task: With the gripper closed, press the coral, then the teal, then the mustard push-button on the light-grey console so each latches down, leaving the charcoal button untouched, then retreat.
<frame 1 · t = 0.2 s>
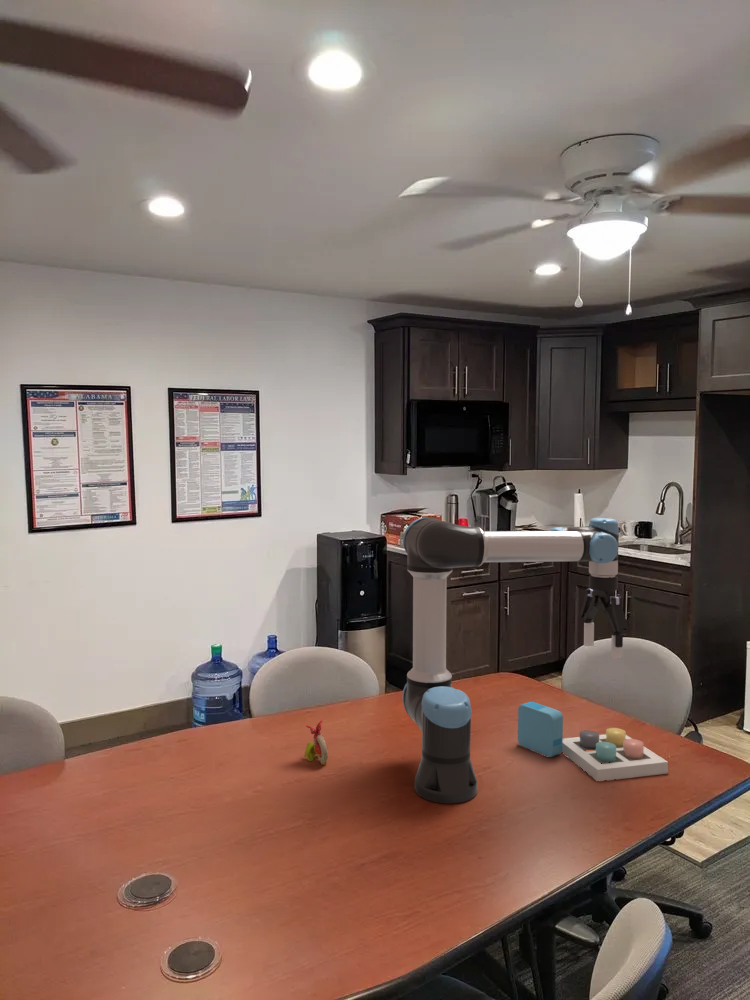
hand: (602, 652, 194), 27 cm above the table, fingers open, 13 cm apart
bird rattle: (319, 762, 187), on the table
mustard button: (615, 737, 193), point 5 cm above the table, slide at 0.0 cm
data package: (539, 750, 195), on the table
charcoal button: (589, 739, 191), point 5 cm above the table, slide at 0.0 cm
console: (610, 761, 188), on the table
coral button: (633, 748, 185), point 5 cm above the table, slide at 0.0 cm
teal button: (605, 751, 183), point 5 cm above the table, slide at 0.0 cm
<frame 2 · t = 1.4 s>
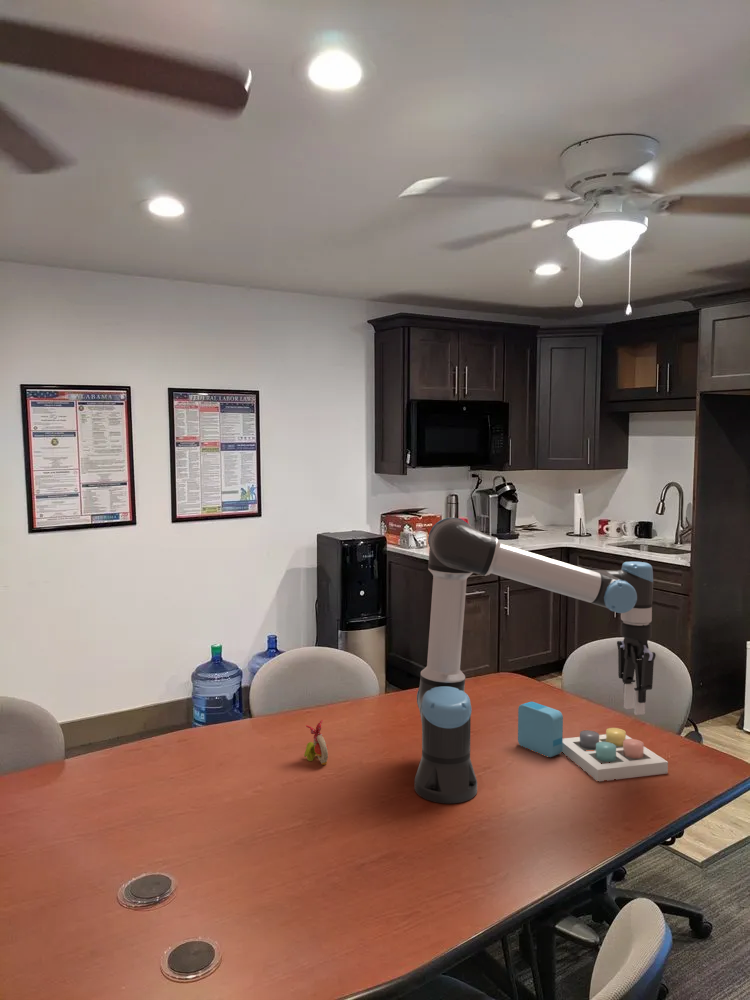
hand: (634, 710, 184), 15 cm above the table, fingers open, 4 cm apart
nothing on the table moved.
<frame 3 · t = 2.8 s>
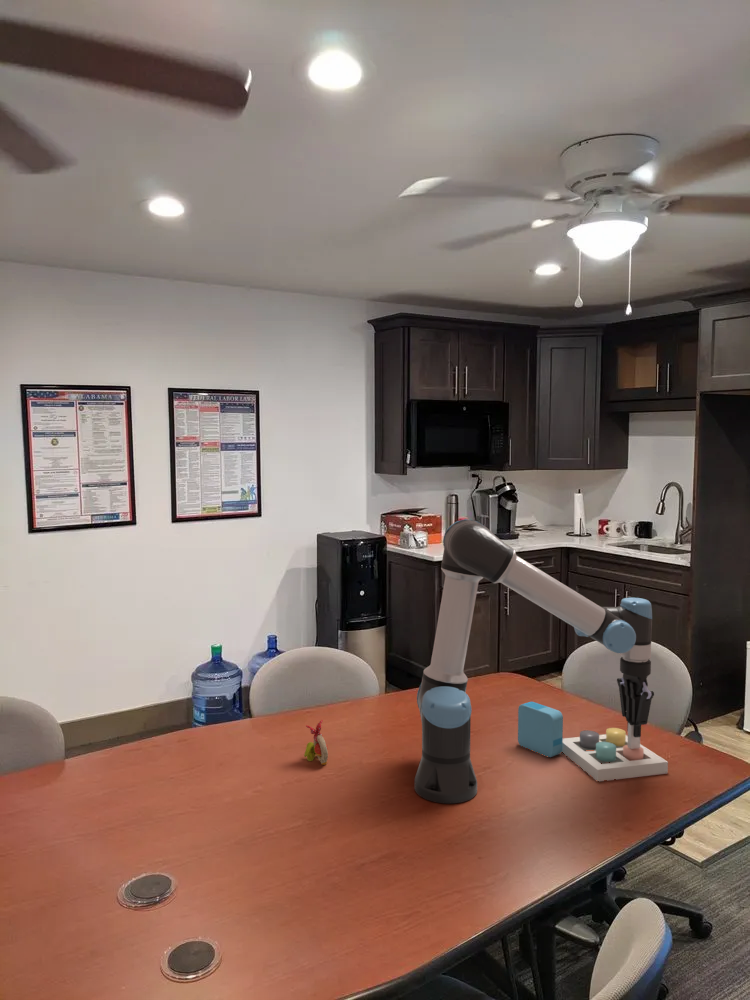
hand: (633, 747, 185), 5 cm above the table, fingers closed
coral button: (633, 754, 185), point 3 cm above the table, slide at 1.6 cm, touching gripper
everything else where it was.
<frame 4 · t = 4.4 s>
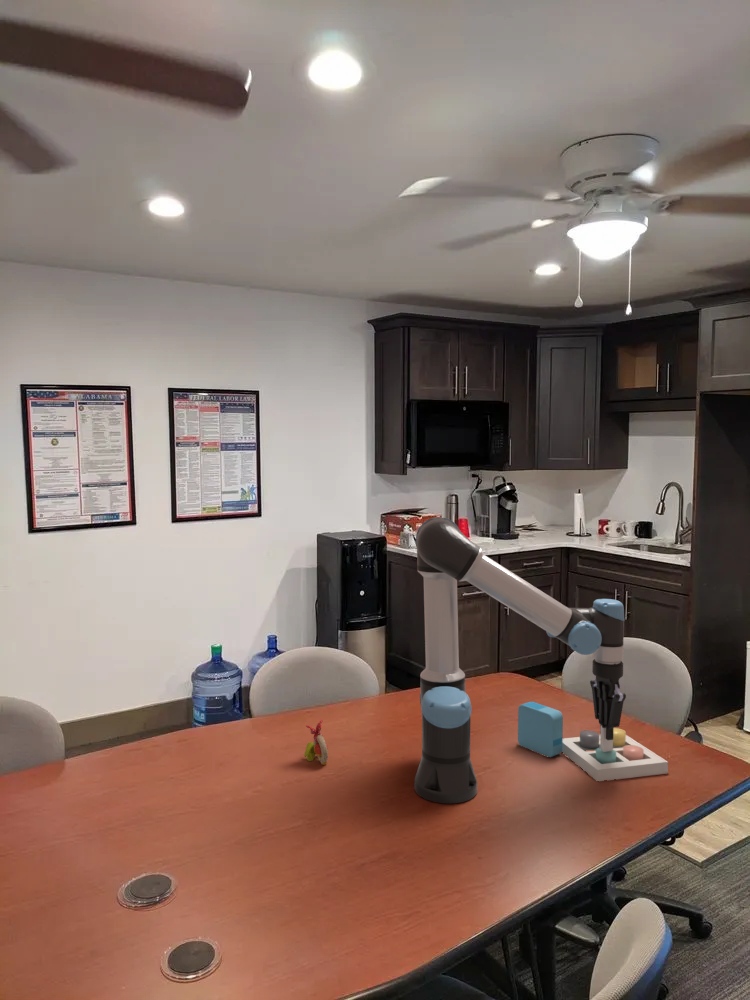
hand: (606, 750, 183), 5 cm above the table, fingers closed
coral button: (633, 754, 185), point 3 cm above the table, slide at 1.7 cm
teal button: (605, 757, 183), point 3 cm above the table, slide at 1.5 cm, touching gripper
everything else where it was.
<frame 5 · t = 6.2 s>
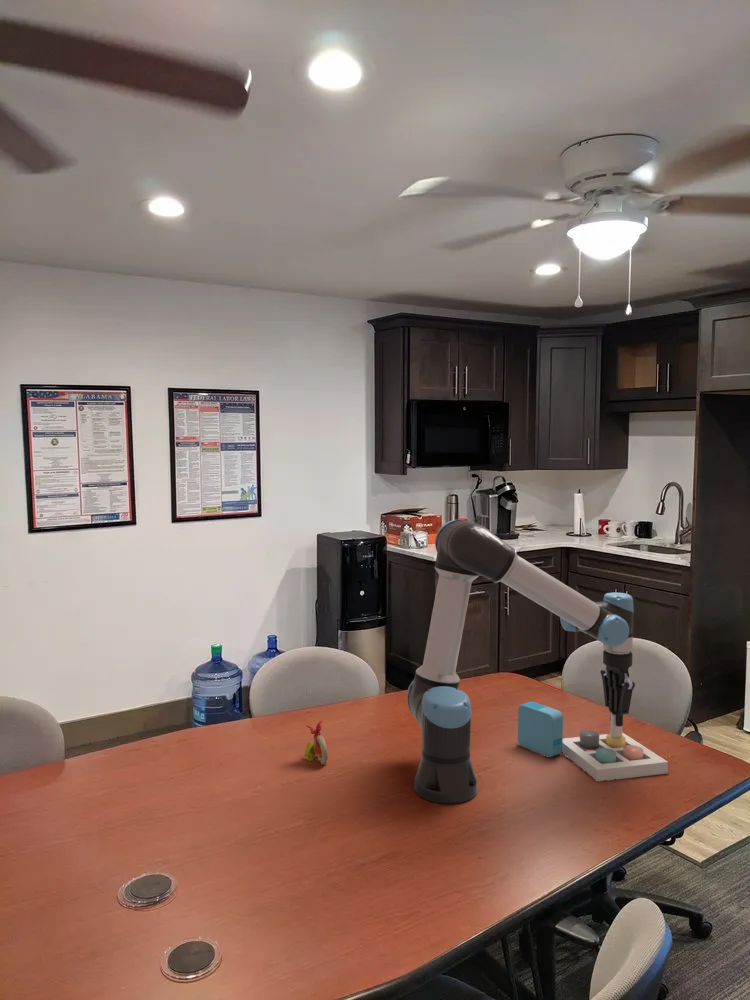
hand: (616, 736, 193), 5 cm above the table, fingers closed
mustard button: (615, 742, 193), point 3 cm above the table, slide at 1.6 cm, touching gripper
teal button: (605, 757, 183), point 3 cm above the table, slide at 1.7 cm
everything else where it was.
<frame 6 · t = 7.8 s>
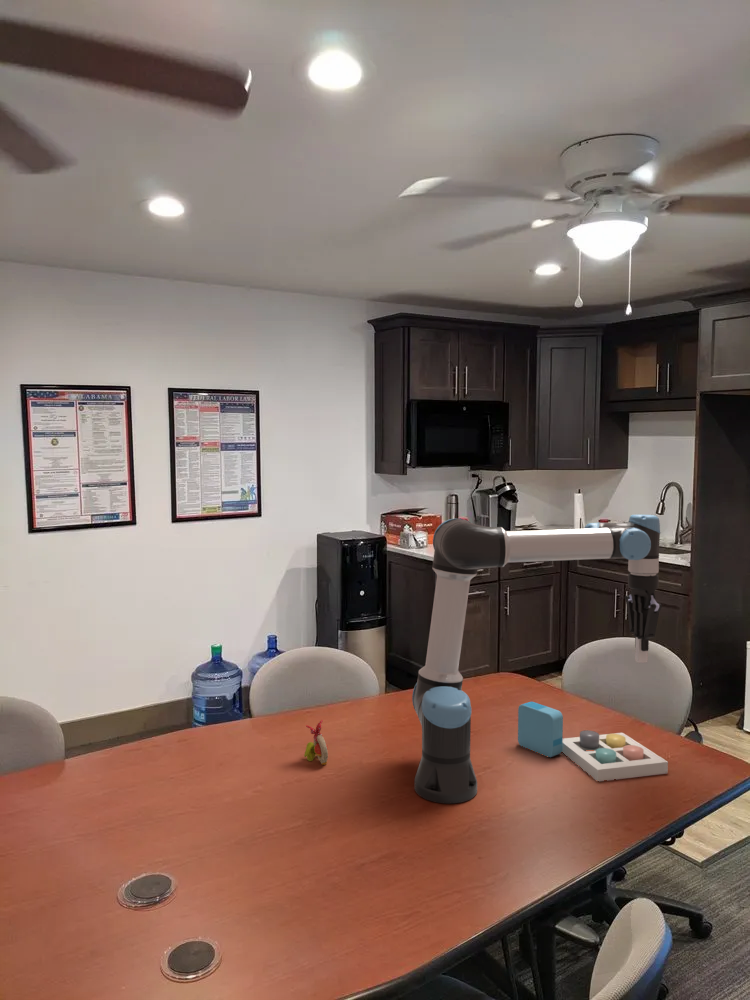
hand: (641, 661, 188), 26 cm above the table, fingers closed
mustard button: (615, 743, 193), point 3 cm above the table, slide at 1.7 cm
everything else where it was.
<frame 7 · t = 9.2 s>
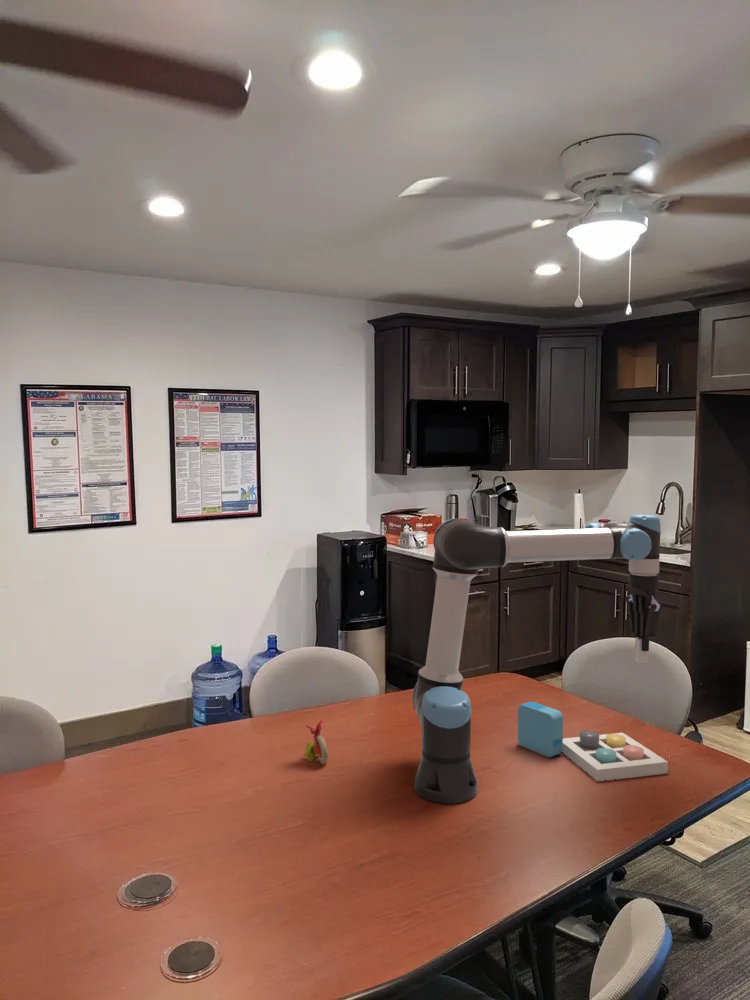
hand: (641, 662, 187), 26 cm above the table, fingers closed
nothing on the table moved.
at the end: coral button slide at 1.7 cm; teal button slide at 1.7 cm; mustard button slide at 1.7 cm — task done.
